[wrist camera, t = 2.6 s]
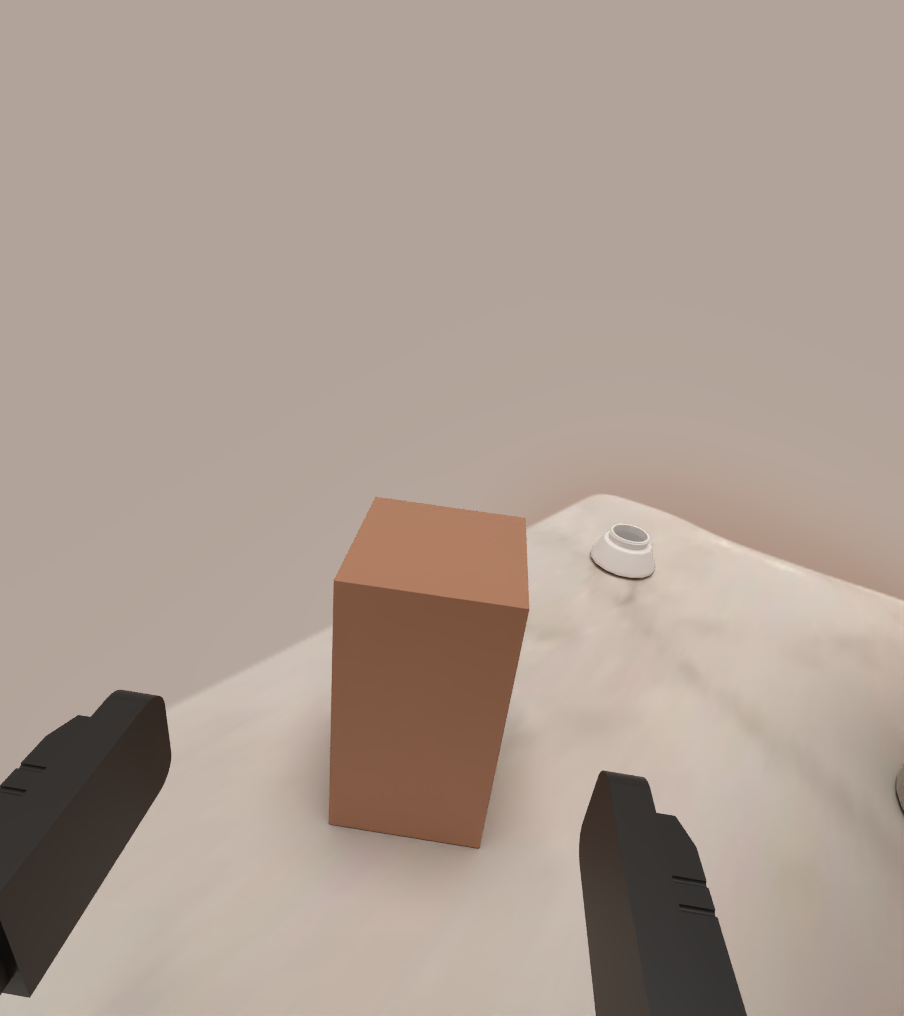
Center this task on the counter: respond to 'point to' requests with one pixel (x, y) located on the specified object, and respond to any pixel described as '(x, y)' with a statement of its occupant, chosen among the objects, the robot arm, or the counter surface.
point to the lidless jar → (625, 551)
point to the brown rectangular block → (424, 668)
